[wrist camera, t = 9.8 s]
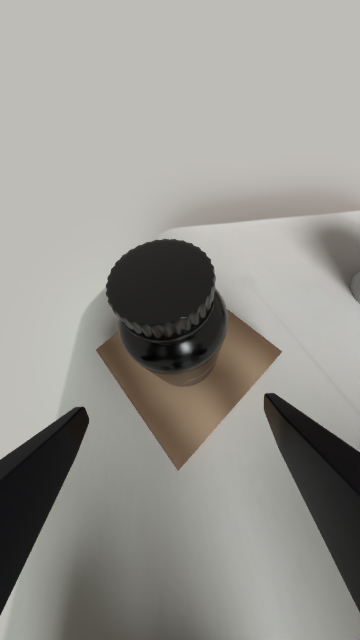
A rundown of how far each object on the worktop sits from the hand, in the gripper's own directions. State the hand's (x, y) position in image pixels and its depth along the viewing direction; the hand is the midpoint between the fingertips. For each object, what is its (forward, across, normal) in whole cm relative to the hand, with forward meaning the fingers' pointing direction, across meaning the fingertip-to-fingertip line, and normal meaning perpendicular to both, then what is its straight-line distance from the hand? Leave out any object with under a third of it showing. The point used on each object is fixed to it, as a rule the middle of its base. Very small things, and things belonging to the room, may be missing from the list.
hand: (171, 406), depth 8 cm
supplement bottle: (+9, 0, +2) cm, 10 cm away
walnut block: (+12, 0, +4) cm, 12 cm away
